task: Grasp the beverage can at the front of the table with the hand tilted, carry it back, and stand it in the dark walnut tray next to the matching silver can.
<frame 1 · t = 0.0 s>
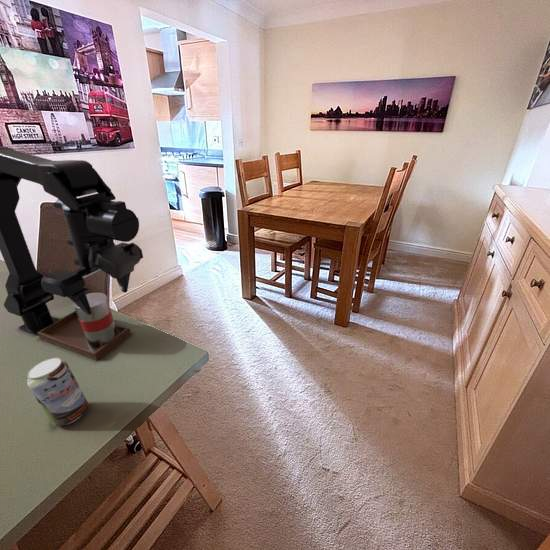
hand: (107, 302, 64), 15 cm above the table, tool pointing down, fingers open, 9 cm apart
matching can: (103, 343, 74), resting on drinks tray
drinks tray: (86, 336, 76), on the table
beverage can: (69, 415, 57), on the table
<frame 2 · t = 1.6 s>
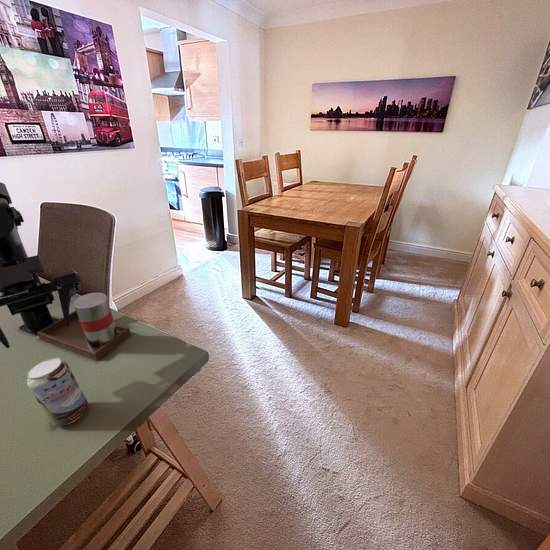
hand: (39, 336, 56), 13 cm above the table, tool tilted 45°, fingers open, 9 cm apart
nothing on the table moved.
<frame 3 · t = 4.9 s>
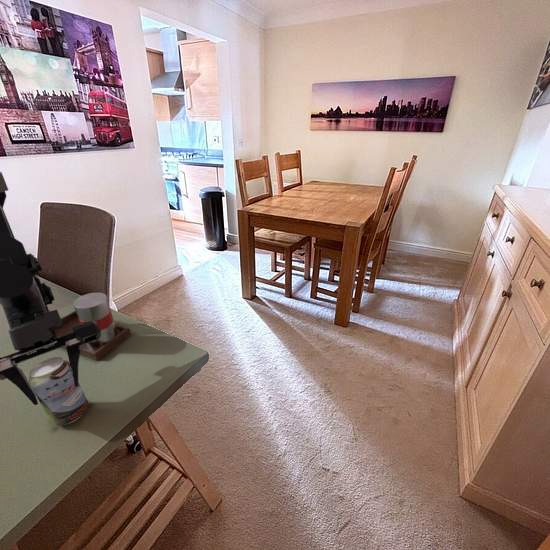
hand: (57, 395, 52), 7 cm above the table, tool tilted 45°, fingers closed on beverage can, 6 cm apart
beverage can: (69, 414, 57), on the table, touching gripper
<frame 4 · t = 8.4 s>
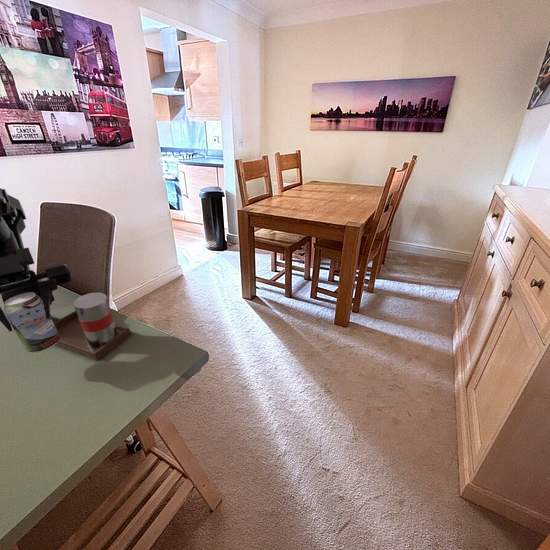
hand: (30, 324, 59), 13 cm above the table, tool tilted 45°, fingers closed on beverage can, 6 cm apart
beverage can: (42, 346, 63), point 6 cm above the table, touching gripper
when the fingers open (8 cm above the table, at t = 12.1 s): beverage can stays where it is, resting on drinks tray.
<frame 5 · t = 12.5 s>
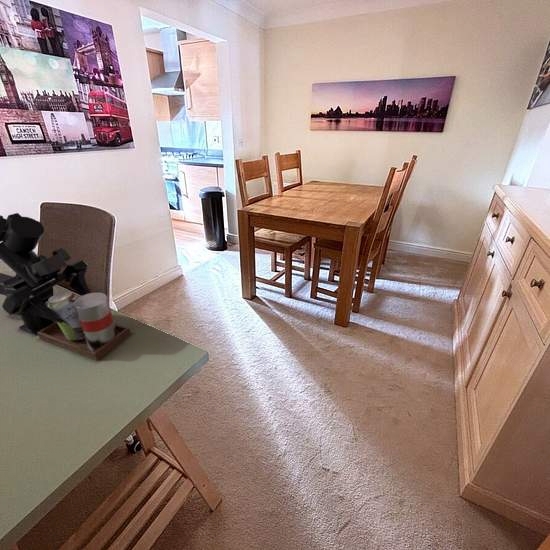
hand: (77, 310, 72), 8 cm above the table, tool tilted 45°, fingers open, 9 cm apart
beverage can: (78, 336, 76), resting on drinks tray
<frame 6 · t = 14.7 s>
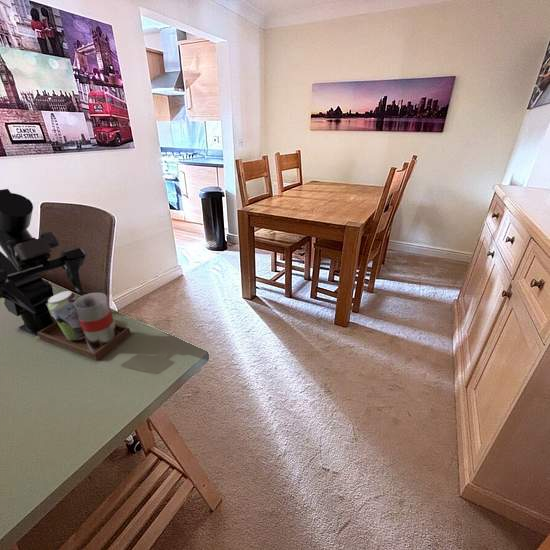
hand: (59, 302, 65), 14 cm above the table, tool tilted 45°, fingers open, 9 cm apart
nothing on the table moved.
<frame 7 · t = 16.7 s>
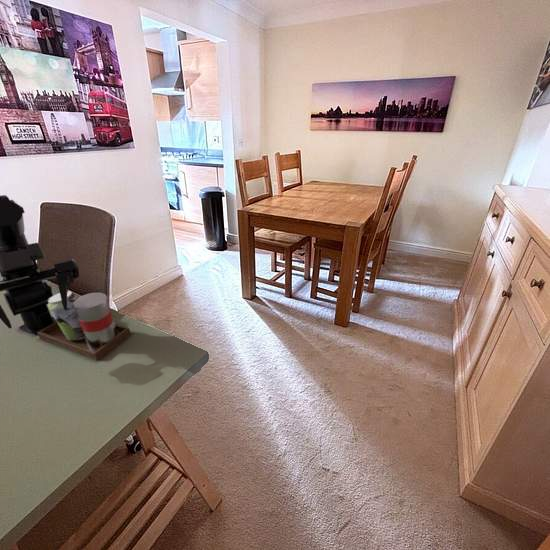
hand: (39, 318, 60), 14 cm above the table, tool tilted 45°, fingers open, 9 cm apart
nothing on the table moved.
at the end: beverage can inside the target area in the drinks tray (0.9 cm from its centre), point 0.4 cm above the drinks tray's base; beverage can tilted 0° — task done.
